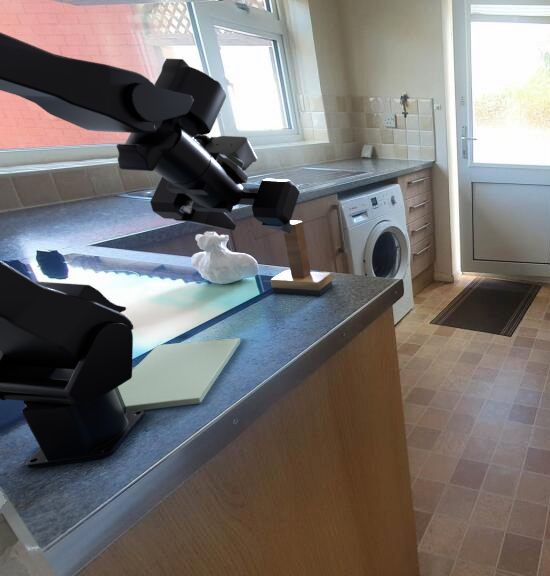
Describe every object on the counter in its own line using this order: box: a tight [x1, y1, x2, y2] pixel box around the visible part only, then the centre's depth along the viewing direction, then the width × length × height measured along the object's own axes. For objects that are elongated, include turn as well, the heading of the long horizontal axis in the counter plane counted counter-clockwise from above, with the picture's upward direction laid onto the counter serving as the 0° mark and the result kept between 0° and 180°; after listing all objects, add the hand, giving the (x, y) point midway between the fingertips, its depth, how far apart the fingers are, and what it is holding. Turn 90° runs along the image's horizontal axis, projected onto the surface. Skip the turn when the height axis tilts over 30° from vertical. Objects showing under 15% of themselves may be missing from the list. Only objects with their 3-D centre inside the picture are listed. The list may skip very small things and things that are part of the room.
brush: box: [269, 220, 333, 297], centre depth 75 cm, size 5×9×13 cm, turn 86°
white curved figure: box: [190, 230, 260, 285], centre depth 77 cm, size 12×8×11 cm
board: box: [118, 337, 242, 412], centre depth 51 cm, size 14×10×1 cm
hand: (262, 229), depth 65 cm, fingers open, 9 cm apart
